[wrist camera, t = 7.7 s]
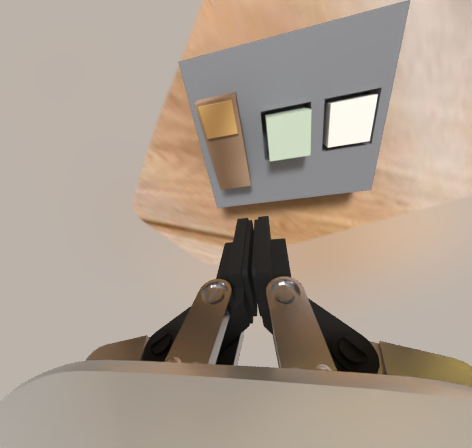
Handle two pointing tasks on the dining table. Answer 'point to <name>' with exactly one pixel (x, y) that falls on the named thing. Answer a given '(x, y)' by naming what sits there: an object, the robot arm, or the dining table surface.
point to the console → (302, 100)
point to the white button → (348, 120)
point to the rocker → (224, 139)
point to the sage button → (289, 133)
